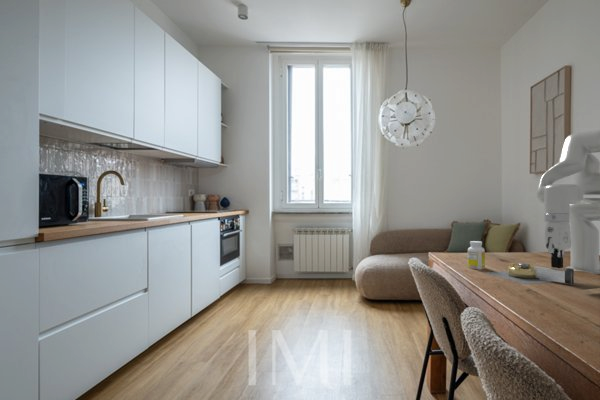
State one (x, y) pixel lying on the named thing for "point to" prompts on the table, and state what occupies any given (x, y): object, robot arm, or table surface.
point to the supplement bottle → (476, 255)
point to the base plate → (521, 280)
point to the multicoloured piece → (541, 273)
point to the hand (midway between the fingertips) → (557, 267)
